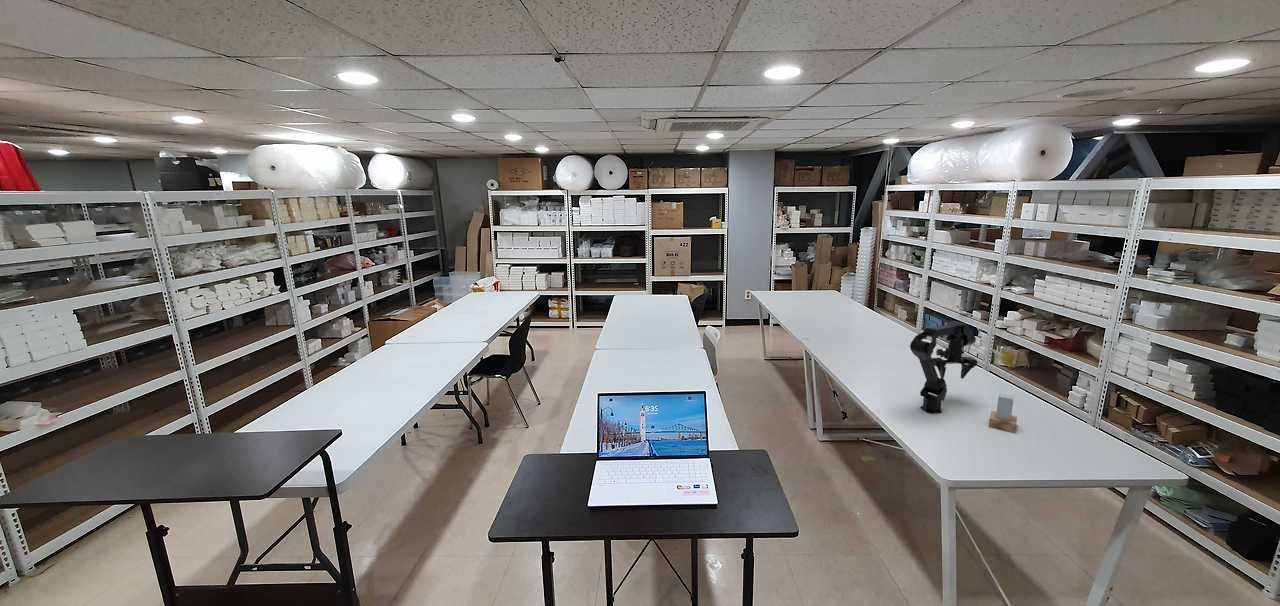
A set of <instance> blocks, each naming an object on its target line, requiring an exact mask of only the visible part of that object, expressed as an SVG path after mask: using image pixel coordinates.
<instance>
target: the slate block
mask: <svg viewBox="0 0 1280 606" xmlns="http://www.w3.org/2000/svg"><path fill="white" fill-rule="evenodd" d="M1014 398H1015V395H1013V394H1010V393H1009V394H1008V393H1002V392H999V394H998V398H997V405H996V406H997V407H996V411H995V412H996V418H998V419H1003V420H1007V421H1010V420H1011V415H1012V413H1013V406H1014Z"/></svg>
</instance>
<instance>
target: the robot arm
mask: <svg viewBox="0 0 1280 606" xmlns="http://www.w3.org/2000/svg"><path fill="white" fill-rule="evenodd" d="M944 336H947V337H946V340H948V344H947V345H948V346H947V347H946V348H945V350H944V349H942V348H937V349H936V352H935V353H936V356H940V357H932V355H933V353H934V349H935V347H937V339H938V338H939V337H944ZM927 337H928V338H931V342H928V341H924V339H926V338H927ZM976 340H977V338H976V336H975V335H974V334H973V331H971V330H970V329H969V327H968V325H967V323H964V322H960V321H954V320H952V321H951V320H950V321H948V322H947V323H946V324H945V325H939V326H934V327H933V326H932V327H925V329H924V330H923V331H922V332H921V333H919V334H917V335H915V337H914V338H913V339H912V341H911V342H910V345H909V349H910V351H911V352H912V354H913V355H915V357H916V358H918V360H919V363H920V365H921V366H920V367H921V369H922V372H923V375H924V378H925V380H926V381H925V382H924V384H923V385H924V386H923V387H922V389H921V390H920V392H919V395H920V396H921V397H923V400H922V406H920V408H921V409H922V410H924V411H925V412H926V413H927V414H936V413H940V414H941V413H942V412H943V411H942V410H941V409H942V401H943V402H944V400H945V398H946V395H947V392H948V388H947V386H948V385H947V383H946V380H945V379H944V378H945V374H946V370H947V367H946V366H947V365H951V364H953V365H954V364H956V365H957V364H958V365H959V364H960V365H961V371H960V378H961V379H964V378H965V377H966V376H967V374H968V373H969V372H970V371H971V370H972V369H973V368H975V367H977V366H978V364H979V363H978V362H979V361H978V360H977V359H975V358H973V357H972V356H963V354H965V351H964V350H963V348H964V347H968V346H970V345H973V344H975V343H976ZM937 370H938V371H937ZM938 373H939V376H940V377H939V376H938Z"/></svg>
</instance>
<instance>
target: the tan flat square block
mask: <svg viewBox="0 0 1280 606" xmlns="http://www.w3.org/2000/svg"><path fill="white" fill-rule="evenodd" d="M996 412H997V411H993V410H991V413H990V415H989V419H988V427H989V428H991V429H996V430H1000V431H1004V432H1009V433H1016V428H1017V421H1018V416H1016V415H1012V414H1011V420H1010V421H1007V420H1003V419H998V418H996Z"/></svg>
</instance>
